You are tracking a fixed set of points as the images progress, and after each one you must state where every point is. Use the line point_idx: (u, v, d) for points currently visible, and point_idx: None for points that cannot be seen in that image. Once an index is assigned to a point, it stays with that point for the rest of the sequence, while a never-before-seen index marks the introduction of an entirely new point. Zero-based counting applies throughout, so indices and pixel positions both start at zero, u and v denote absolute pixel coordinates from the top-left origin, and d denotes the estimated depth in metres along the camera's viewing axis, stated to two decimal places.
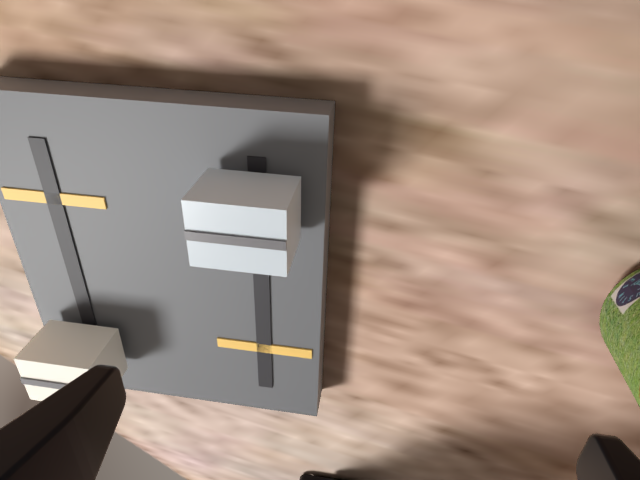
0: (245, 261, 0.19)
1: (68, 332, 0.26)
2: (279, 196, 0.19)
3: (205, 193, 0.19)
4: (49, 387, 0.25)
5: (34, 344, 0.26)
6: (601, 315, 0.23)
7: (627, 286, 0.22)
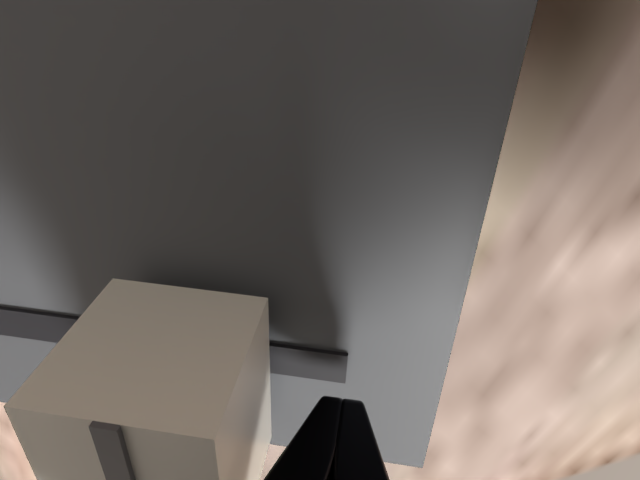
0: None
1: None
2: None
3: None
4: None
5: None
6: None
7: None
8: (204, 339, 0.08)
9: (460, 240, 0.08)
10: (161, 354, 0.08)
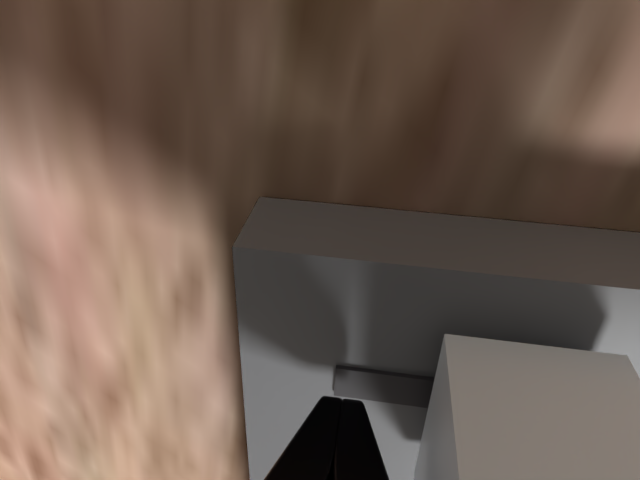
0: None
1: None
2: (447, 451, 0.07)
3: None
4: None
5: None
6: None
7: None
8: None
9: None
10: None
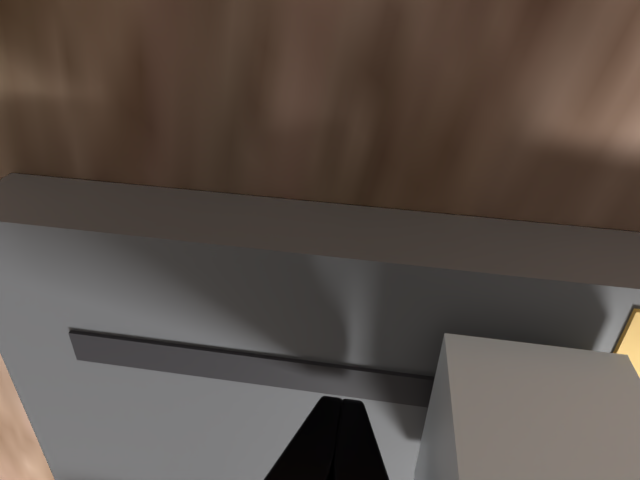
0: None
1: None
2: (448, 450, 0.07)
3: None
4: None
5: None
6: None
7: None
8: None
9: None
10: None
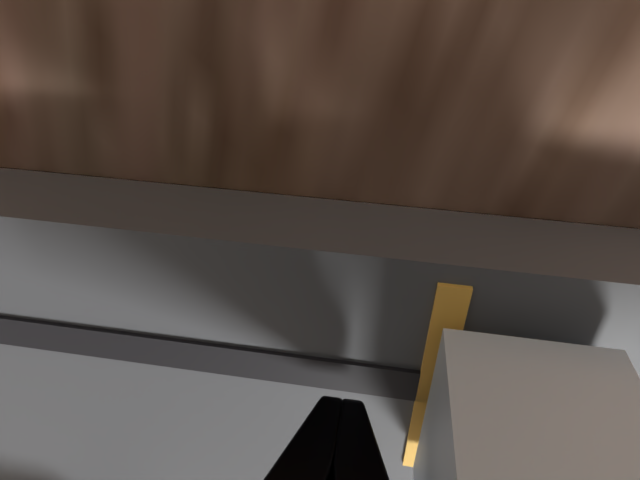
0: None
1: None
2: (446, 443, 0.07)
3: None
4: None
5: None
6: None
7: None
8: None
9: None
10: None
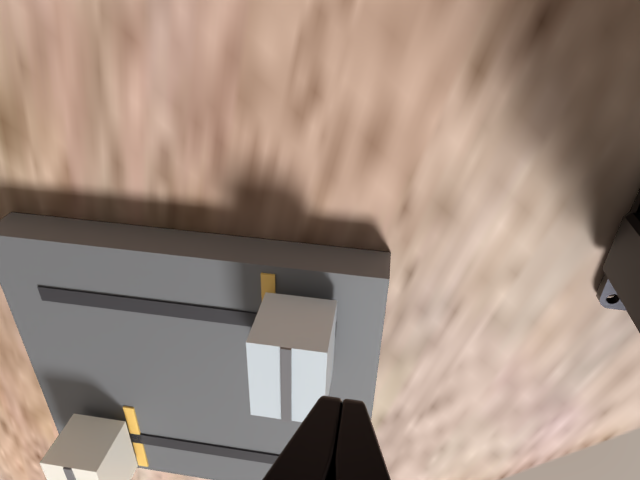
0: (311, 382, 0.19)
1: None
2: None
3: None
4: None
5: None
6: None
7: None
8: (100, 439, 0.26)
9: None
10: (86, 445, 0.25)
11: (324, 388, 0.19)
